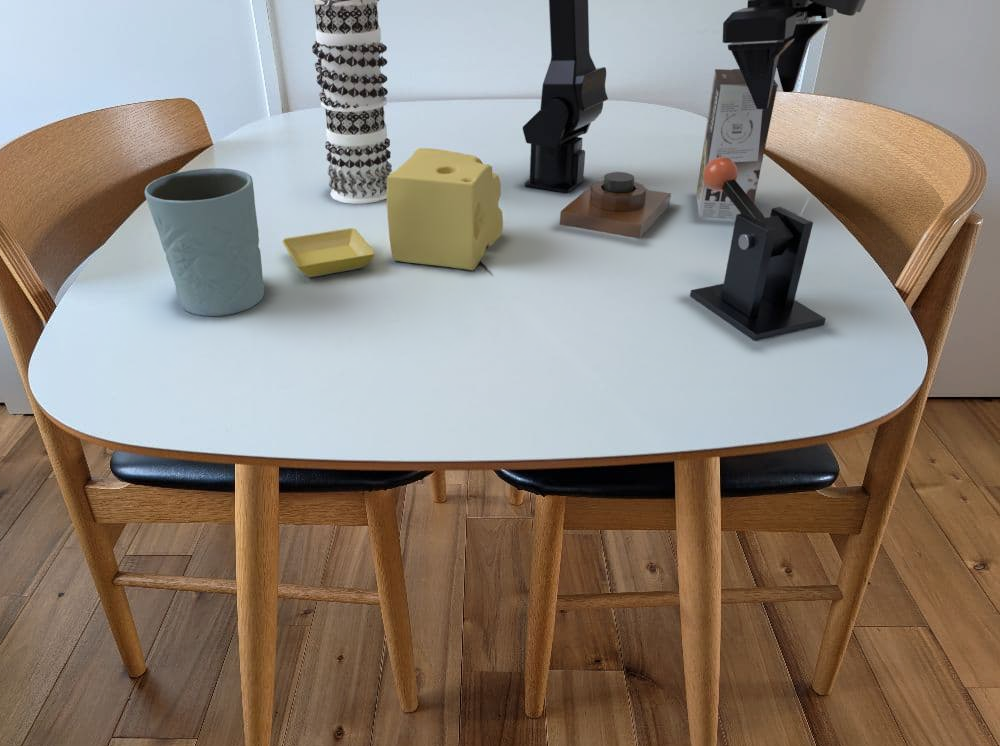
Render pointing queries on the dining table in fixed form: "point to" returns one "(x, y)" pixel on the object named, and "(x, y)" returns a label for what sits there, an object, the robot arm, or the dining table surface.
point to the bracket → (762, 280)
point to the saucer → (329, 252)
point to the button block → (616, 210)
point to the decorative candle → (353, 98)
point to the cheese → (443, 209)
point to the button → (618, 182)
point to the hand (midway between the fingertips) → (775, 100)
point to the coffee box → (733, 140)
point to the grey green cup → (209, 238)
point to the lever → (743, 199)
